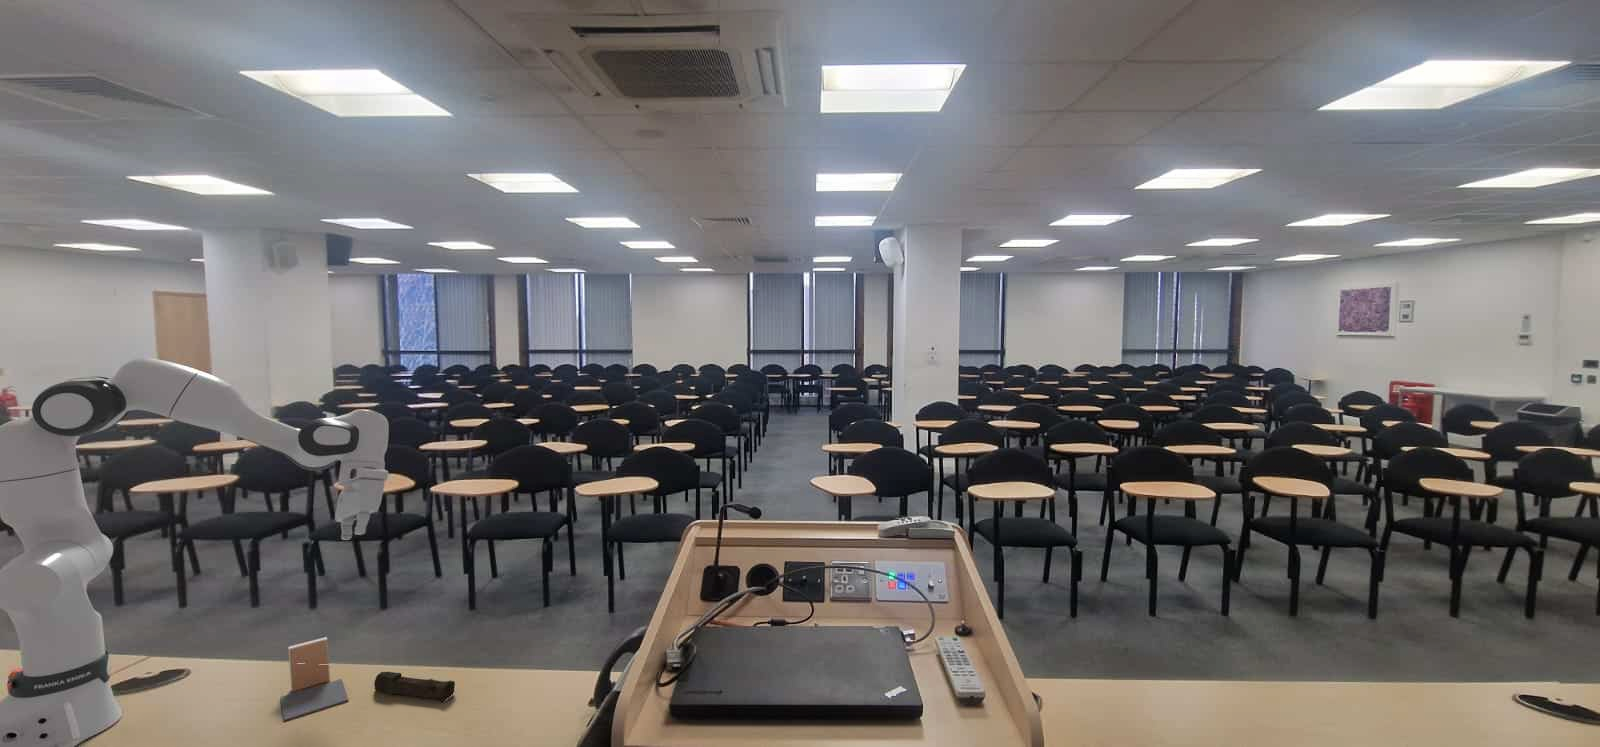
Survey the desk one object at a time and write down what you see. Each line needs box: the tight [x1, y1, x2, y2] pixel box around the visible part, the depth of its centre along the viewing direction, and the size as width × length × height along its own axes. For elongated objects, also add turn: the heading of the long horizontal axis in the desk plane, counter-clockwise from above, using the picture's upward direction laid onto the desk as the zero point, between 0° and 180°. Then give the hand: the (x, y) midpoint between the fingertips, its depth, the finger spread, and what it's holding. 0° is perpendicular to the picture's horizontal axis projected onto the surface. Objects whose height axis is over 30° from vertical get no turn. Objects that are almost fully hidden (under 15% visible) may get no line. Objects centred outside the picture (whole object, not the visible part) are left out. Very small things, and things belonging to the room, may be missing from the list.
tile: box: [287, 636, 331, 692], centre depth 148 cm, size 7×2×10 cm, turn 131°
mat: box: [280, 678, 349, 722], centre depth 143 cm, size 11×11×1 cm
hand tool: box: [373, 671, 456, 702], centre depth 145 cm, size 19×4×5 cm, turn 77°
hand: (352, 536), depth 151 cm, fingers open, 8 cm apart
